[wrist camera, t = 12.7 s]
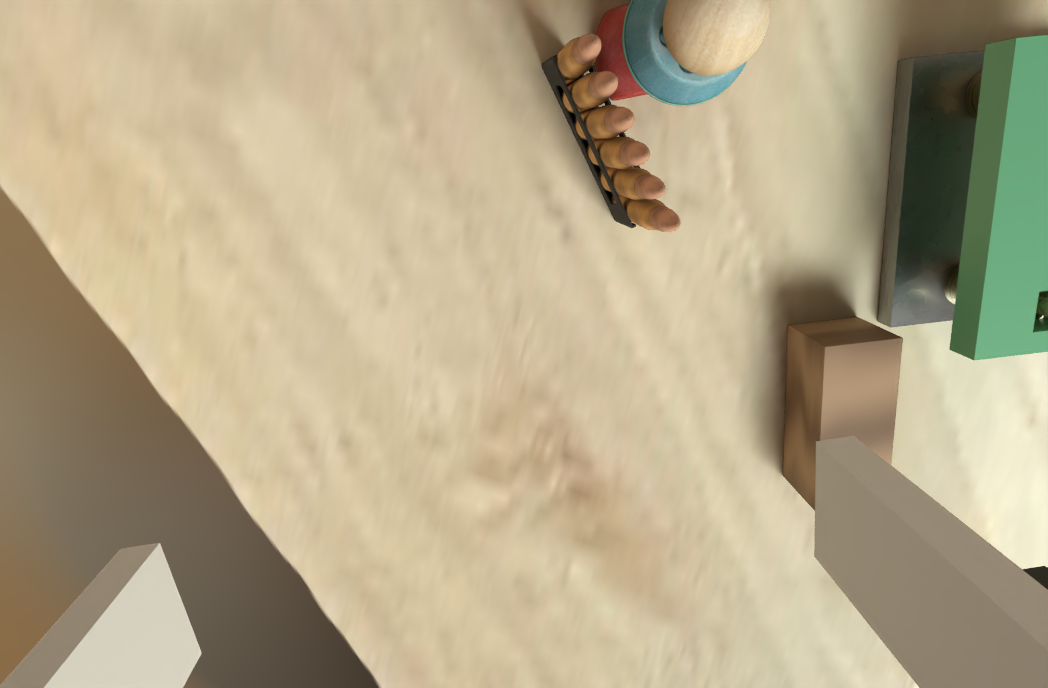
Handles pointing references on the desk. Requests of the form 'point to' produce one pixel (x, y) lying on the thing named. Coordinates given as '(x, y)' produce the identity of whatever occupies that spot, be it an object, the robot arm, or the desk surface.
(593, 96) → the ammunition clip
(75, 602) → the robot arm
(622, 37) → the colourful wooden toy set
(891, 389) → the stand
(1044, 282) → the board
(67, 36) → the desk surface
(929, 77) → the chassis
